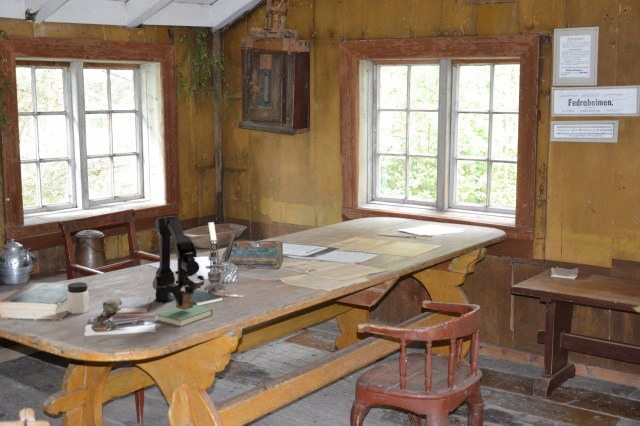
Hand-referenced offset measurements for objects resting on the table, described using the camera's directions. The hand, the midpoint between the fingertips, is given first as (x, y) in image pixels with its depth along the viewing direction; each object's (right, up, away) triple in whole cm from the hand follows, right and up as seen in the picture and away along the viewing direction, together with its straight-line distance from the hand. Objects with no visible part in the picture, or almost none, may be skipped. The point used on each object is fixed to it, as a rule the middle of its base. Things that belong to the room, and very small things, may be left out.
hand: (184, 304), depth 353 cm
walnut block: (0, -1, 0) cm, 1 cm away
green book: (0, -6, +1) cm, 6 cm away
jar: (-48, -4, +7) cm, 48 cm away
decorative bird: (-32, -5, +4) cm, 33 cm away
